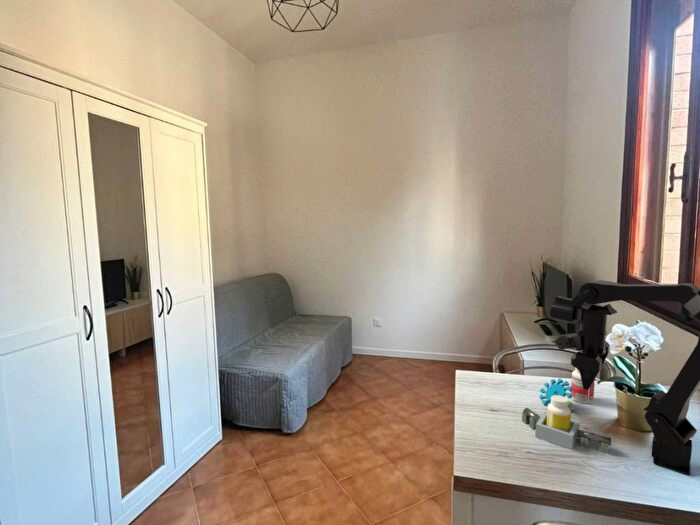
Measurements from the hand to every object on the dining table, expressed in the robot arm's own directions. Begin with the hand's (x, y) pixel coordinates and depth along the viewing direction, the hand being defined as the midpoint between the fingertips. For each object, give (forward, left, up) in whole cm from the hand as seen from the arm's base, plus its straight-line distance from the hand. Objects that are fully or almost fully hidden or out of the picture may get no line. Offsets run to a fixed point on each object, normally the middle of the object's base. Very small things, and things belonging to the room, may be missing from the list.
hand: (589, 383), depth 102 cm
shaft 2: (-3, +9, -12) cm, 16 cm away
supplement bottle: (+5, +10, -12) cm, 16 cm away
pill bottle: (+4, -17, -13) cm, 22 cm away
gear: (+9, -8, -13) cm, 18 cm away
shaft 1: (+11, +8, -12) cm, 19 cm away
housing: (+5, +10, -12) cm, 17 cm away
